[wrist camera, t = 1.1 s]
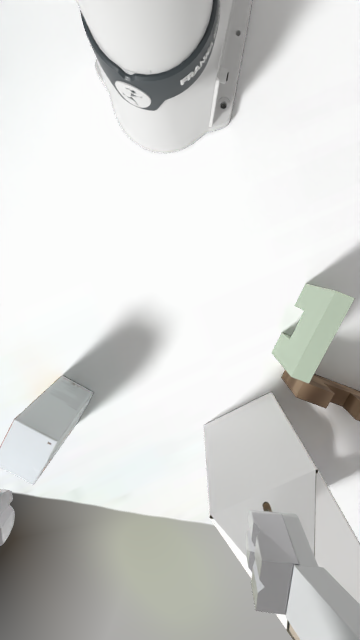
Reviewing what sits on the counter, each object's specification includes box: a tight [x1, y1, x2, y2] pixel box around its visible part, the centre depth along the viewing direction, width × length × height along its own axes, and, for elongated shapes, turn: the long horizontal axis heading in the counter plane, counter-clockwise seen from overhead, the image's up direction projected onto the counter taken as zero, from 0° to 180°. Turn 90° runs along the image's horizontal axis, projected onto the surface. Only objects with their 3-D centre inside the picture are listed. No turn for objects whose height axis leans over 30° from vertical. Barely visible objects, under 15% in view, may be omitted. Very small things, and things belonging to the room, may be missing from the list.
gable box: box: [203, 392, 360, 640], centre depth 35 cm, size 22×13×28 cm, turn 31°
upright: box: [281, 370, 360, 421], centre depth 42 cm, size 14×2×6 cm, turn 69°
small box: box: [0, 376, 93, 485], centre depth 42 cm, size 8×6×13 cm
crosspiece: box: [272, 284, 355, 383], centre depth 39 cm, size 12×2×9 cm, turn 160°
